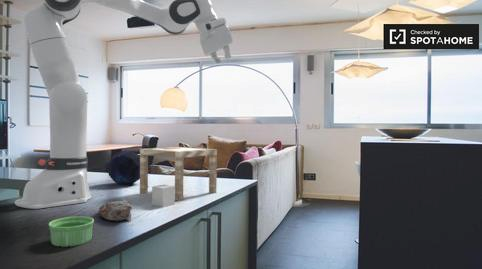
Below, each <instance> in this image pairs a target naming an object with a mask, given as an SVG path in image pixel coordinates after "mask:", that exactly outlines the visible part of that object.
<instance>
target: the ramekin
mask: <svg viewBox="0 0 482 269" xmlns="http://www.w3.org/2000/svg"><path fill="white" fill-rule="evenodd" d="M94 222H95V219H94V218H93V217H90V216H80V215H79V216H67V217H62V218H57V219H53V220H51V221H49V223H48V228H49V235H50V237H49V238H50V243H51V245H53V246H54V247H59V246H61V247H62V248H63V247H65V248H66V247H68V246H70V247H75V246H81V245H83V244H86V243H87V244H88V243H89V242H90V241H91V240H92V236H93V228H94V226H93V225H94ZM61 247H60V248H61Z"/></svg>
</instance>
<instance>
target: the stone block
mask: <svg viewBox="0 0 482 269" xmlns="http://www.w3.org/2000/svg"><path fill="white" fill-rule="evenodd" d="M151 189H152V190H151V205H152V206H154V207H159V208H166V207H169V206H174V205H176V203H175V202H176V200H175V185H169V184H158V185H153V186H151Z"/></svg>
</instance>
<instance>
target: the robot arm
mask: <svg viewBox="0 0 482 269" xmlns="http://www.w3.org/2000/svg"><path fill="white" fill-rule="evenodd" d="M85 3H94V4H98V5H100V6H104V7H107V8H109V9H113V10H116V11H120V12H123V13H125V14H126V13H127V14H130V15H132V16H134V17H136V18H139V19H142V20H144V21H147V22H149V23H152V24H155V25H157V26H159V27H160V28H161V29H163V30H164V31H165V32H167V33H168V34H170V35H174V36H175V35H176V36H177V35H180V34H183V33H184V32H185V31H186V29H187V28H188V26H190V24H191V23H194V25H195V26H196V29H197V31H198V33H199V36H200V37H199V42H200V45H201V49H202V52H203V54H204V55H205V56H206V57H209V56H210V57H211V58H212V59H213V61H214V63H215V64H216V65H218V64H219V63H221V59H220V57H218V55H217V52H218V51H219V50H220V51H221V50H223V51H224V54H223V55H224V57H225V60H229V59H230V58H232V56H231V52H230V51H231V49H230V44H232V43H233V36H232V33H231V31H230V29H229V26H228V25H227V20H226V18H225V17H218V16H217V14H216V12H215V11H214V9H213V4H212V2H211V0H173V1H172V2H171V3H170V4H169V6H168V7H167V8H161V7H159V6H156V5H154V4H152V3H149V2H146V0H145V1H144V0H43V3H42V5H40V6H37V7H32V8H31V9H29V10H27V11H26V12H25V13H24V17H23V21H24V22H23V23H24V28H25V33H26V36H27V40H28V43H29V46H30V50H31V52H32V54H33V57H34V61H35V63H36V66H37V69H38V72H39V74H40V76H41V79H42V82H43V84H44V87H45V90H46V93H47V95H48V99H49V100H48V101H49V102H48V104H49V106H48V107H49V108H48V109H49V157H48V158H47V159H43V158H41V159H39V160H38V161H37V164H38V165H39V166H44V169H43V170H42V171H41V172H40V173H38V174H37V175H35V176H34V177H33V178H31V179H30V180H29V181H28V182H26V184H25V186H24V188H23V194H22V198H19V199H16V200H14V205H15V206H17V207H19V208H25V209H33V210H34V209H35V210H36V209H38V210H39V209H43V208H46V209H47V208H52V207H61V206H65V205H66V206H68V205H73V204H75V205H76V204H81V203H87V202H88V200H90V199H92V194H91V190H90V187H89V181H88V169H89V166H88V165H89V163H88V162H89V161H88V160H89V159H88V158H89V157H88V156H87V132H88V131H87V127H88V95H87V92H86V89H84V87H83V86H82V83H81V80H80V77H79V74H78V69H77V67H76V63H75V60H74V58H73V53H72V51H71V48H70V46H69V43H68V39H67V36H66V33H65V31H64V27H63V26H64V25H65V24H68V23H69V22H71V21H73V20H75V19H76V18H77V17H78V16H79V14H80V12H81V6H82V4H85Z"/></svg>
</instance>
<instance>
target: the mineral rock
mask: <svg viewBox="0 0 482 269" xmlns="http://www.w3.org/2000/svg"><path fill="white" fill-rule="evenodd" d="M132 209H133V207H132V206H131V205H130V204H129V202H128V200H127V199H123V200H118V201H117V200H116V201H108V202H104V203H103V204H102V206H100V207H99V208H98V214H99V217H100V218H102V219H105V220H107V221H116V222H119V221H123V220H126V221H127V222H130V221H131V220H132V212H131V210H132Z"/></svg>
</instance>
